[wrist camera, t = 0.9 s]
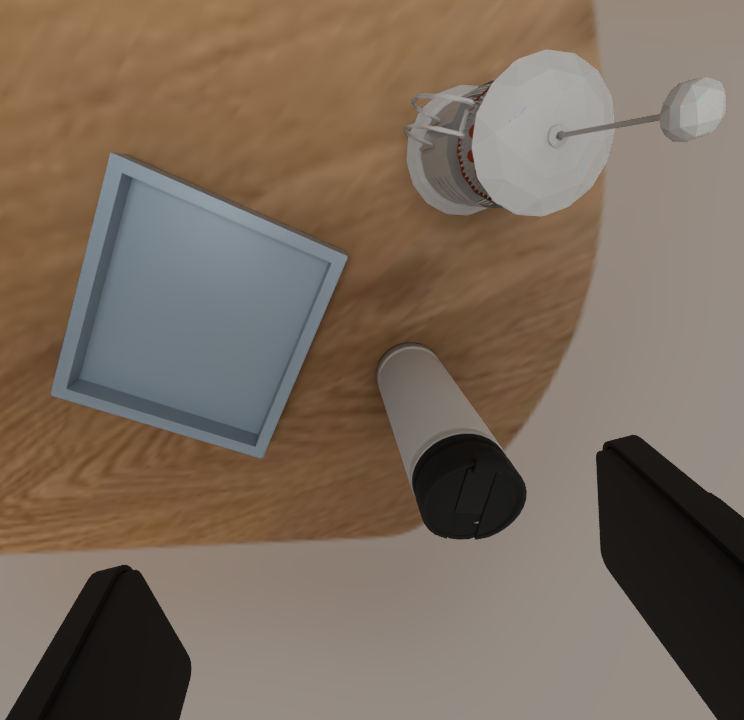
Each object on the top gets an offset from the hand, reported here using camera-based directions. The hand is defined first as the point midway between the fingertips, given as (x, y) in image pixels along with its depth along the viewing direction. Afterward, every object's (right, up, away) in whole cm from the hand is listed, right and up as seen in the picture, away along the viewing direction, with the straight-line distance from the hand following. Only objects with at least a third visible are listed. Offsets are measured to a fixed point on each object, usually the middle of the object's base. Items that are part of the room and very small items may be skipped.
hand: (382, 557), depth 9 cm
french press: (+7, +21, +28) cm, 36 cm away
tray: (-15, +8, +30) cm, 35 cm away
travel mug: (+3, +3, +35) cm, 35 cm away
